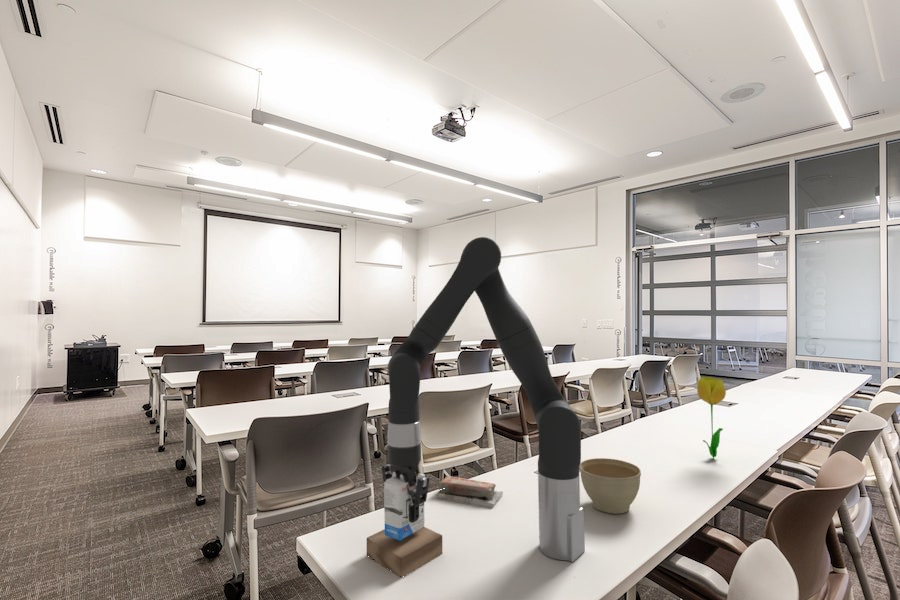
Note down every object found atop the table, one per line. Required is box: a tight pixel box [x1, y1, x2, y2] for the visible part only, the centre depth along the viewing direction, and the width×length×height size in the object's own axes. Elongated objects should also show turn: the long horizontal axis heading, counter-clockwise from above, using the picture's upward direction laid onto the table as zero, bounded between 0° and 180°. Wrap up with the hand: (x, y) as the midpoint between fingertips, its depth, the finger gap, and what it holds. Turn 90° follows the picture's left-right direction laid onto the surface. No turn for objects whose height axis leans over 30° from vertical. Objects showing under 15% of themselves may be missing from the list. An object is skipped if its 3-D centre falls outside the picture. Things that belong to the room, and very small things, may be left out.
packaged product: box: [435, 475, 504, 509], centre depth 125 cm, size 18×5×10 cm
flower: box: [696, 376, 727, 460], centre depth 156 cm, size 9×8×30 cm
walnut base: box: [366, 526, 443, 578], centre depth 95 cm, size 12×12×4 cm
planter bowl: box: [579, 457, 642, 514], centre depth 118 cm, size 16×16×11 cm
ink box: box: [383, 473, 425, 541], centre depth 95 cm, size 9×5×12 cm, turn 143°
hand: (404, 516), depth 95 cm, fingers closed on ink box, 5 cm apart
